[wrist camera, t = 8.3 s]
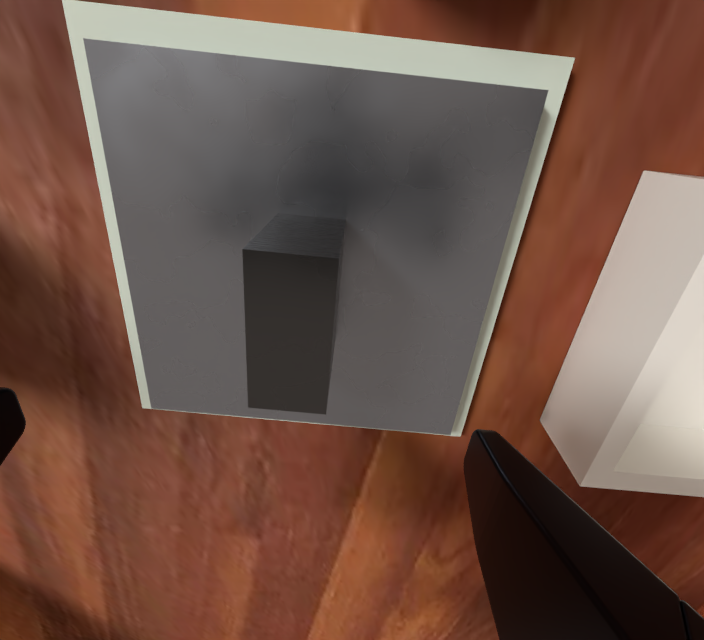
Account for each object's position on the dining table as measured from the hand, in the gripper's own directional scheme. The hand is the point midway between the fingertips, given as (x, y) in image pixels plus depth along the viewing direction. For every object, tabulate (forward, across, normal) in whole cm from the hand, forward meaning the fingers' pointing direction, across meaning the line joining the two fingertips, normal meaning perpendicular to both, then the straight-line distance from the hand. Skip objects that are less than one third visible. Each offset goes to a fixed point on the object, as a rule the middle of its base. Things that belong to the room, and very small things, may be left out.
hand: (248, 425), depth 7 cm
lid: (+9, 0, 0) cm, 9 cm away
